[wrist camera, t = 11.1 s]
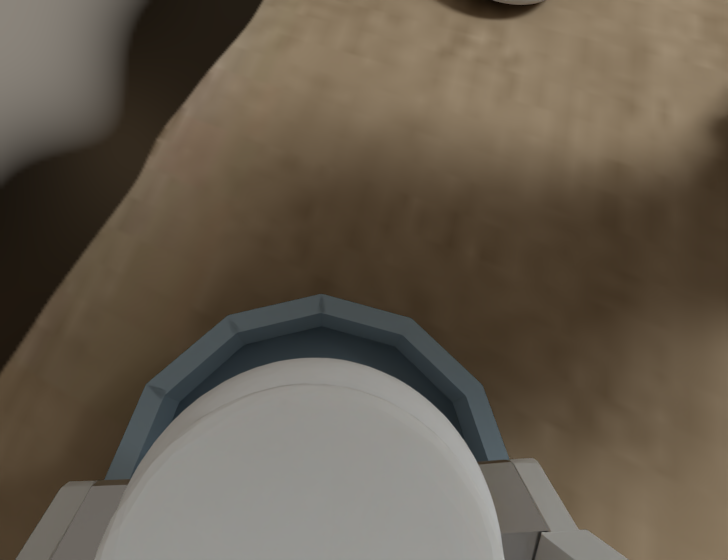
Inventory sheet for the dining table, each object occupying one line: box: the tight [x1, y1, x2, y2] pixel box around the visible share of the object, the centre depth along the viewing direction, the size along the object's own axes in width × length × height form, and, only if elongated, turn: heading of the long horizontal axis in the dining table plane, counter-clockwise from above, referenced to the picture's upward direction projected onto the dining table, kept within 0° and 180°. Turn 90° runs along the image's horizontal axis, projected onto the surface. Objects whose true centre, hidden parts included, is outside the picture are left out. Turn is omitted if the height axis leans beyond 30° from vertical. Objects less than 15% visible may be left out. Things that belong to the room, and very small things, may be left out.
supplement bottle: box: [94, 358, 505, 560], centre depth 9 cm, size 6×6×10 cm
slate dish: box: [104, 294, 509, 480], centre depth 22 cm, size 18×18×4 cm
